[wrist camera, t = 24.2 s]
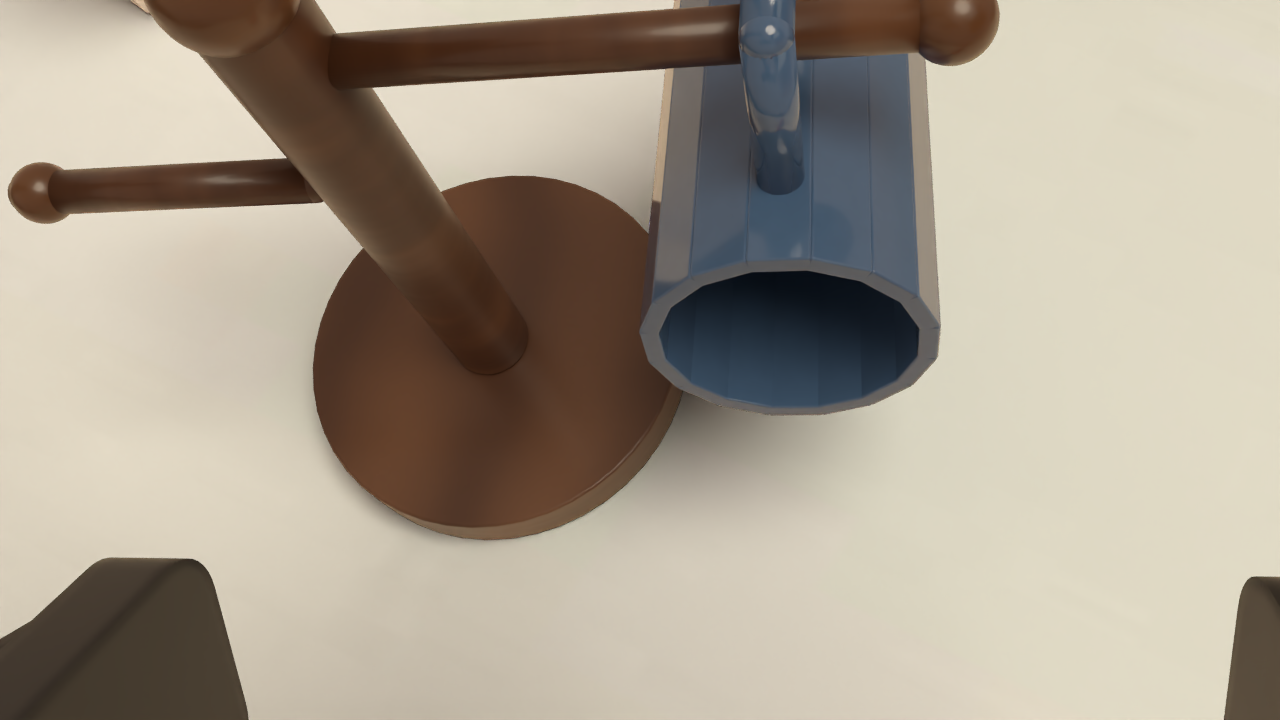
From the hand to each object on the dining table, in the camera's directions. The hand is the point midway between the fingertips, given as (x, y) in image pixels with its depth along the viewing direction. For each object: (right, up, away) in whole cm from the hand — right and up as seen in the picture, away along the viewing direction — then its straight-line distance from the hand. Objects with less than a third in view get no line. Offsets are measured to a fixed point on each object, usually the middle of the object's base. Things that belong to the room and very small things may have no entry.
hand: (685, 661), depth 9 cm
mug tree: (-2, +2, +25) cm, 26 cm away
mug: (+3, +12, +17) cm, 21 cm away
